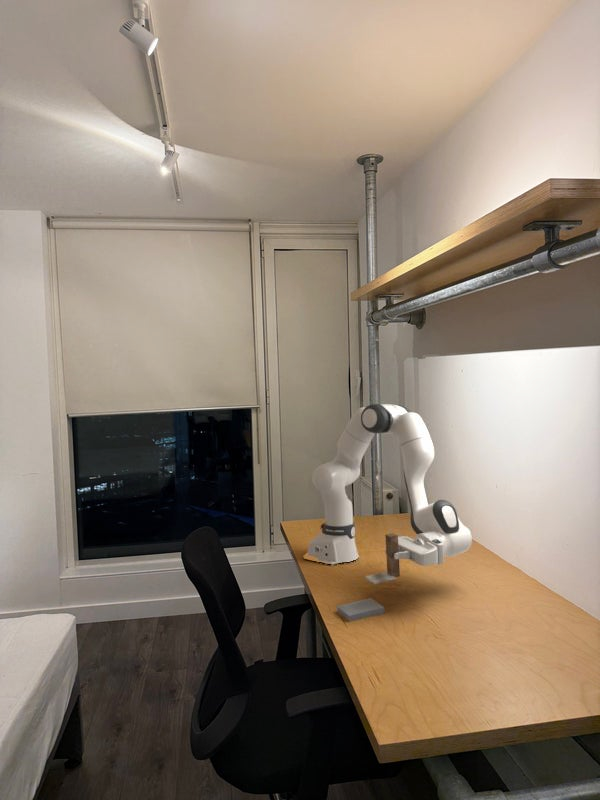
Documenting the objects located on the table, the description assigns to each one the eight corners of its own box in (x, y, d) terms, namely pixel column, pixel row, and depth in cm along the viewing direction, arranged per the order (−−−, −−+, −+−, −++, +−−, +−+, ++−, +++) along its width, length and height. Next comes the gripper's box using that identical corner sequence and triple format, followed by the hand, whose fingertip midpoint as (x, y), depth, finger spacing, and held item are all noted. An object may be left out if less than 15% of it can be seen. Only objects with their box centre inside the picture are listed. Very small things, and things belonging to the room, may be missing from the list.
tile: (370, 598, 178) (336, 606, 173) (384, 607, 171) (349, 615, 166) (371, 604, 178) (337, 612, 174) (384, 614, 171) (349, 623, 166)
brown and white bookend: (392, 572, 180) (390, 532, 179) (402, 577, 175) (400, 536, 174) (365, 578, 176) (363, 537, 175) (374, 584, 171) (372, 541, 170)
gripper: (408, 529, 191) (372, 536, 185) (446, 545, 172) (407, 553, 166) (409, 547, 191) (373, 555, 186) (447, 565, 172) (408, 574, 167)
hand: (390, 554), depth 176 cm, fingers closed on brown and white bookend, 3 cm apart
